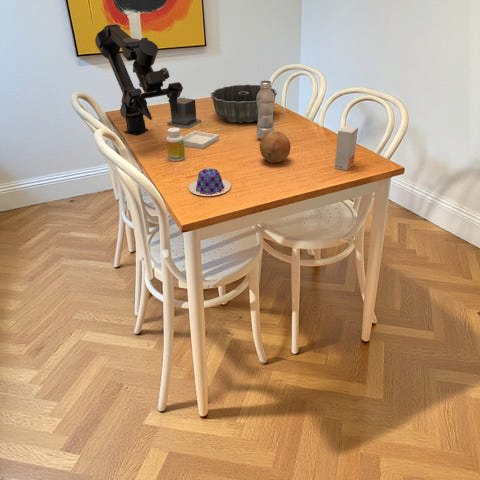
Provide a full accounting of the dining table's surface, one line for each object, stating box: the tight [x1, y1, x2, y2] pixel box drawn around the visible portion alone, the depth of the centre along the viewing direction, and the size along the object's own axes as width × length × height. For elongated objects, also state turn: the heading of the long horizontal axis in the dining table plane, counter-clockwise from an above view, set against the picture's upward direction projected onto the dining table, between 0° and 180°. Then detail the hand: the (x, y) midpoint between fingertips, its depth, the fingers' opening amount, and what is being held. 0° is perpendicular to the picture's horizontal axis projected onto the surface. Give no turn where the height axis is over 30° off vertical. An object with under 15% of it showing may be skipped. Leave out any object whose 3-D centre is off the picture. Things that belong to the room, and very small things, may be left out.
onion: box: [259, 130, 291, 164], centre depth 144 cm, size 10×10×10 cm
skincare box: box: [334, 125, 359, 171], centre depth 138 cm, size 6×4×12 cm
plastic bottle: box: [255, 80, 276, 141], centre depth 158 cm, size 6×7×20 cm
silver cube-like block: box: [166, 97, 202, 129], centre depth 179 cm, size 10×9×9 cm
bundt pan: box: [210, 84, 278, 124], centre depth 184 cm, size 26×26×10 cm
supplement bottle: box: [166, 127, 186, 162], centre depth 148 cm, size 5×5×10 cm
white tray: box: [182, 130, 220, 150], centre depth 162 cm, size 11×11×2 cm
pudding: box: [188, 167, 232, 197], centre depth 129 cm, size 12×12×5 cm
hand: (164, 116), depth 148 cm, fingers open, 9 cm apart
